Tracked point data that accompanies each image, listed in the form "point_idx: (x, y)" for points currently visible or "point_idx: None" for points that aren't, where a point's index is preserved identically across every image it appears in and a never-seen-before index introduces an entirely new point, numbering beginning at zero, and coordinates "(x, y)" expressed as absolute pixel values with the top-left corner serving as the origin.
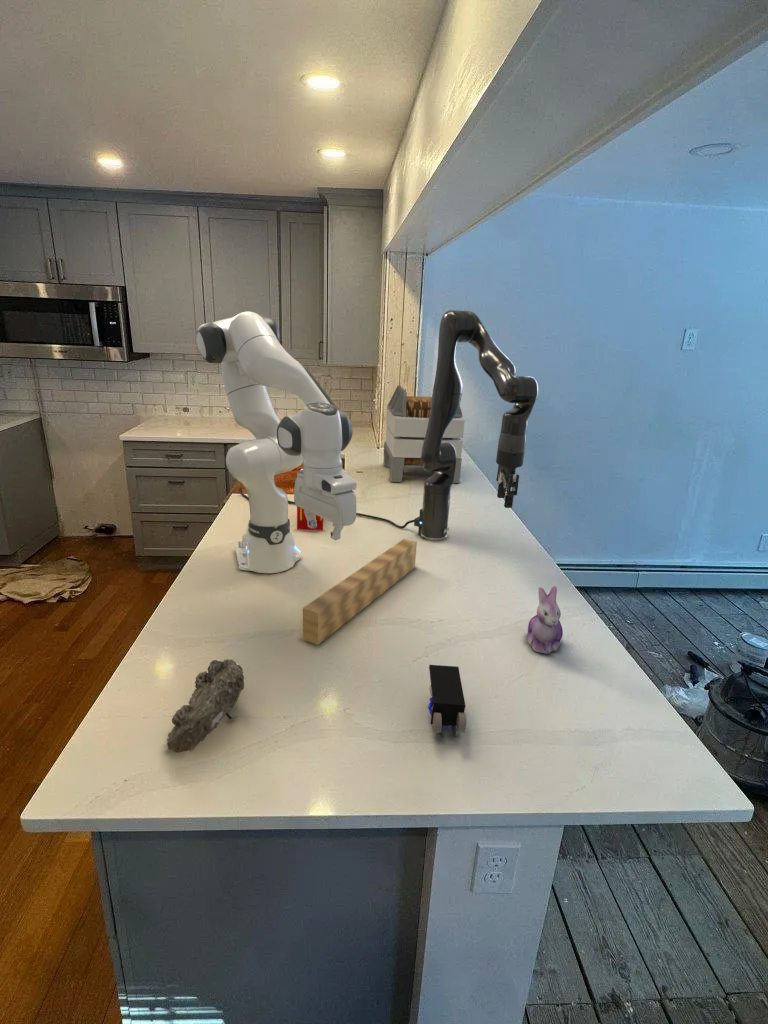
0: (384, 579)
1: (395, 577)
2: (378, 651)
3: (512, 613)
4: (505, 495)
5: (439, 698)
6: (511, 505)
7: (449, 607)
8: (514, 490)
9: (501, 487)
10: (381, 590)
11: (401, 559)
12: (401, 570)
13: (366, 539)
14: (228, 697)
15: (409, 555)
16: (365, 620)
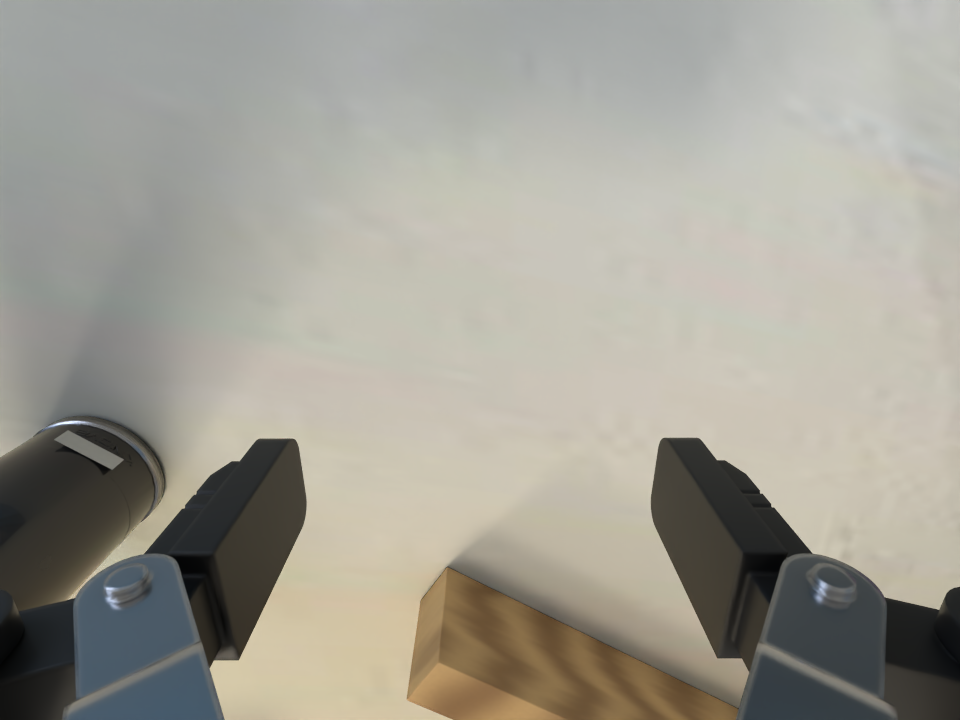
0: (649, 703)
1: (579, 648)
2: None
3: (863, 284)
4: (723, 649)
5: None
6: (741, 473)
7: (766, 497)
8: (885, 654)
9: (241, 603)
10: (654, 678)
11: (554, 686)
12: (544, 639)
13: (216, 687)
14: None
15: (495, 650)
16: None
